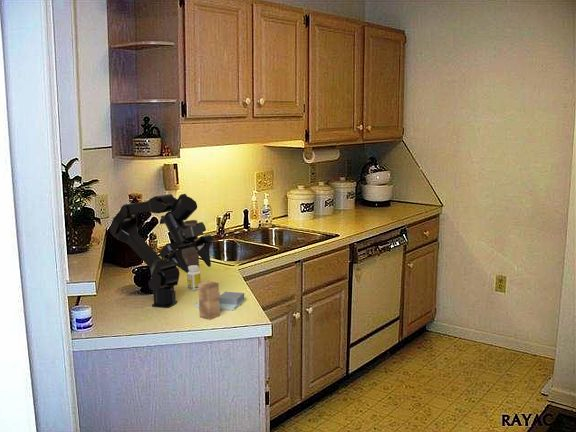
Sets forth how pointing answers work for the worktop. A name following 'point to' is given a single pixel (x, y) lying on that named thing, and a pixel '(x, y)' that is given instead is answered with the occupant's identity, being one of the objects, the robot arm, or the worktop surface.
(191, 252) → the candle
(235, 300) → the foundation
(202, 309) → the pillar
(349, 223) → the worktop surface
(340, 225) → the worktop surface
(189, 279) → the supplement bottle
